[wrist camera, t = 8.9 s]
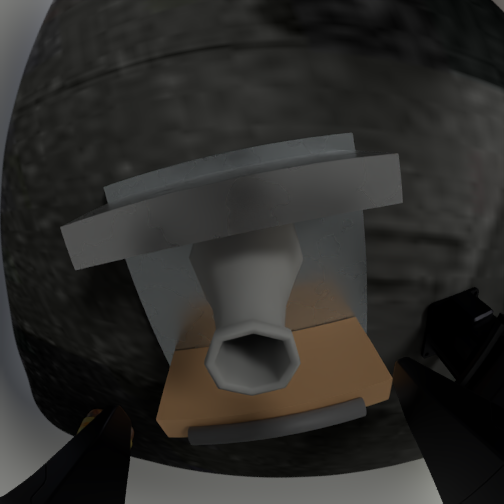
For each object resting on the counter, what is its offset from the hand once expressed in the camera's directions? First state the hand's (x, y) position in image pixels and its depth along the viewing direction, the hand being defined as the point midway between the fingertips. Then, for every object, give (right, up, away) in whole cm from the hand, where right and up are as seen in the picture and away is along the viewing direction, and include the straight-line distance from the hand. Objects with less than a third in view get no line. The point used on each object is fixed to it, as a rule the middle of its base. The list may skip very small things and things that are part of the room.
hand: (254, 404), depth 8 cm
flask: (0, +4, +11) cm, 12 cm away
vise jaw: (+1, -3, +13) cm, 13 cm away
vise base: (0, +3, +12) cm, 13 cm away
